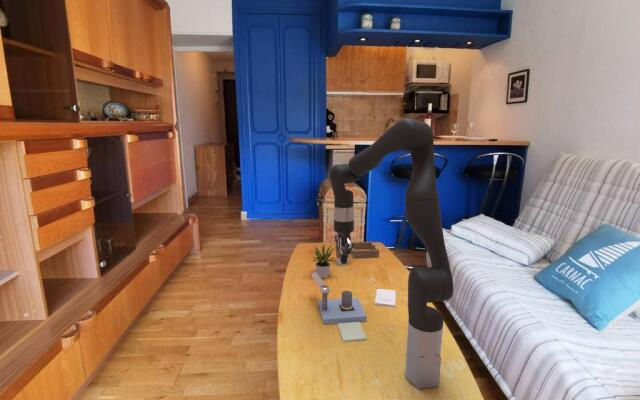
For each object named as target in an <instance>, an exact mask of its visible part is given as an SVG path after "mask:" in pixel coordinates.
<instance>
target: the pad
mask: <svg viewBox="0 0 640 400" xmlns="http://www.w3.org/2000/svg"><path fill="white" fill-rule="evenodd" d="M337 326H338V330H339V333H340V337H341V339H342V342H343V343H345V342H357V341H358V342H359V341H367V340H368V339H367V335H366V334H365V331H364V329H363V327H362V325H361V322H349V323H337Z"/></svg>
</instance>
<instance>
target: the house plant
mask: <svg viewBox="0 0 640 400" xmlns="http://www.w3.org/2000/svg"><path fill="white" fill-rule="evenodd" d="M335 244H336V242H335V243H331V245H329V246H328V248H327V249H326V247H325V244H324V243H323V242H321V244H320V243H319V242H318V245H319V246H320V249H321V251H320V250H319V248H318V247H317V246H316V245H314V244H312V246H313V247H314V249H315V251H314V256H313V255H311V257H312V258H314V259H312V260H311V261H312V262H315V270H316V272H317V274H318V275H319V277H320V278H321V279H322V280H323V279H327V278H329V274H330V268H331V262H334V260H336V259H335V257H331V255H332V254H333V253H334V252H335V251H336V248H335V247H333V246H334V245H335ZM332 247H333V248H332ZM334 263H335V262H334Z"/></svg>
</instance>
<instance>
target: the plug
mask: <svg viewBox="0 0 640 400" xmlns="http://www.w3.org/2000/svg"><path fill="white" fill-rule="evenodd" d="M352 298H353V292H352V291H351V290H344V291H341V299H342V304H341V312H342V311H353V310H352V308H353V305H352Z"/></svg>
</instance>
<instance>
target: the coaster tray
mask: <svg viewBox="0 0 640 400" xmlns="http://www.w3.org/2000/svg"><path fill="white" fill-rule="evenodd" d="M352 243H353V244H354V246H353V248H352V250H351V253H350V254H349V255H351V257H352V259H354V260H355V259H357V260H358V259H373V258H374V259H375V258H376V259H377V258H380V250H379V248H378V247H377V246H376V245H375V243H374V242H373V241H362V242H360V241H357V242H352Z"/></svg>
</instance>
